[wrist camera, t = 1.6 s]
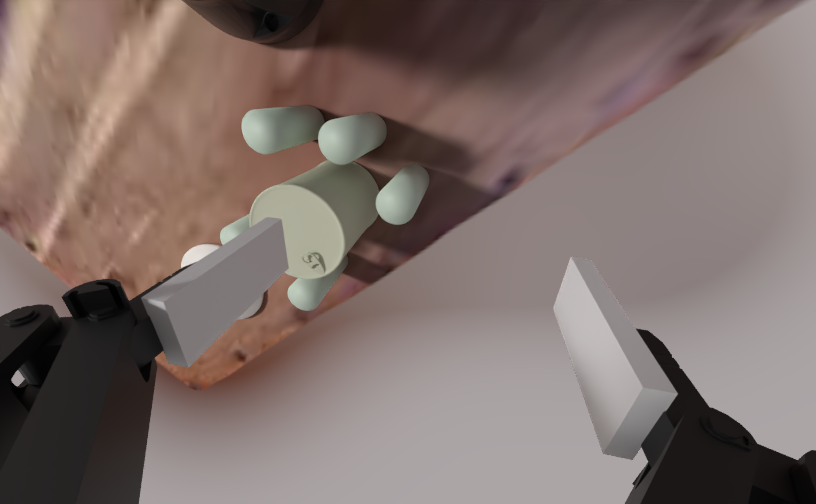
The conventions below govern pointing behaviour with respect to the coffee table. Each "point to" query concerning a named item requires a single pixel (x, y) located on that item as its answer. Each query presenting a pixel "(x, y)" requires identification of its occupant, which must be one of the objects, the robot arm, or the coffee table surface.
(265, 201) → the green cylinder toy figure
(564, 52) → the coffee table surface
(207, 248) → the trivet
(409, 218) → the posts
